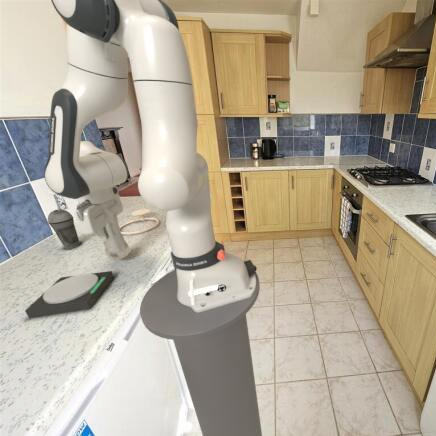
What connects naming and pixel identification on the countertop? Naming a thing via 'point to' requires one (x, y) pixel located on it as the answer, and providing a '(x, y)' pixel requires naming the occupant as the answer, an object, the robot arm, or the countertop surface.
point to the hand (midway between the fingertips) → (110, 234)
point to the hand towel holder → (141, 214)
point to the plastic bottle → (114, 237)
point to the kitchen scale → (71, 294)
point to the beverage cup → (64, 227)
